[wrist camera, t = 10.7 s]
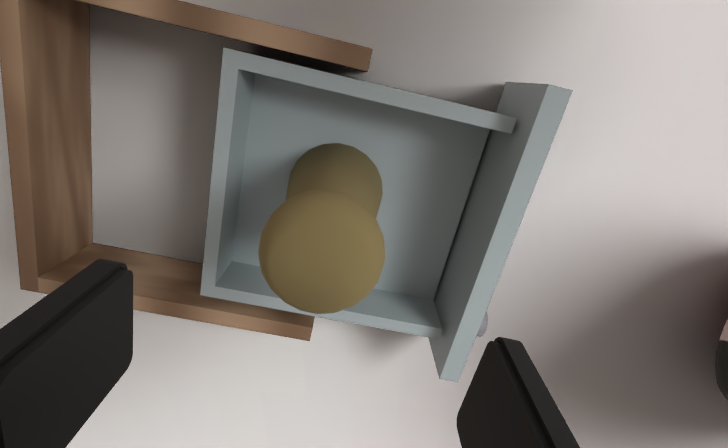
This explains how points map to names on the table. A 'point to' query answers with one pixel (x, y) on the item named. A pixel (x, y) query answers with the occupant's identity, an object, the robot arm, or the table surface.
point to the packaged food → (722, 361)
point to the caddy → (73, 151)
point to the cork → (326, 232)
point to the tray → (399, 186)
